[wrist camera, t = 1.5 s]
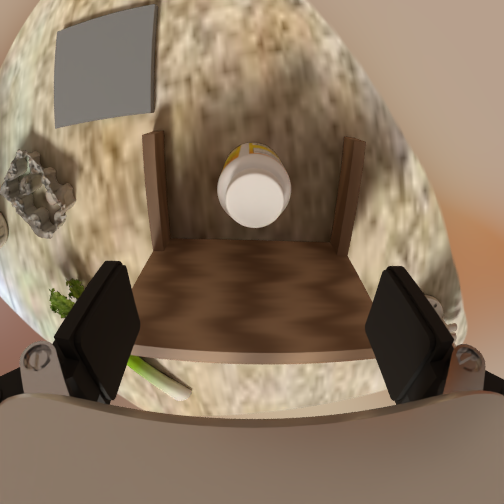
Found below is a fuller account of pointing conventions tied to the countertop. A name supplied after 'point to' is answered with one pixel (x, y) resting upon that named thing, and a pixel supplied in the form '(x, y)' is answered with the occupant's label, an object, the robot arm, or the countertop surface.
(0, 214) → the spray can
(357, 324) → the walnut rack
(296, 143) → the countertop surface
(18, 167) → the egg carton
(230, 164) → the supplement bottle
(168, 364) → the countertop surface
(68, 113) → the slate mat
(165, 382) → the green celery stalk
